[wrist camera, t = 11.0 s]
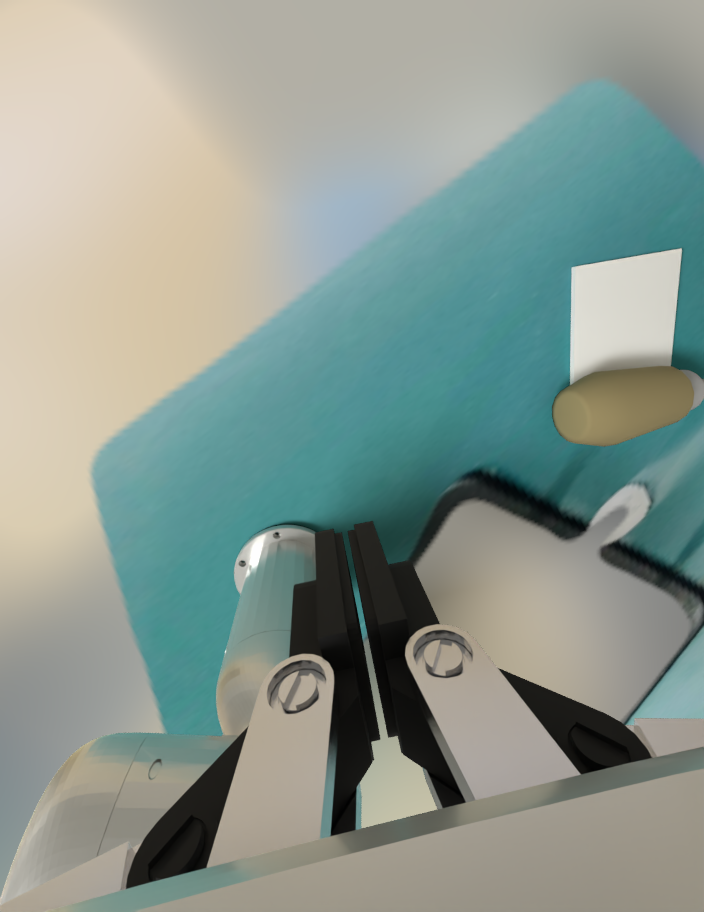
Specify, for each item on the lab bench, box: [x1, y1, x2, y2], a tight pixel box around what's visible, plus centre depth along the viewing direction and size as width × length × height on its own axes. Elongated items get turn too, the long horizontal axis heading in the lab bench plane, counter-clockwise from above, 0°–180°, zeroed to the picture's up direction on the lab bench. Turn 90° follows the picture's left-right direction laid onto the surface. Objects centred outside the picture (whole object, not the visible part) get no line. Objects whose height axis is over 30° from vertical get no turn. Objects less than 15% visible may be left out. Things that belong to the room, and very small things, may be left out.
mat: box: [570, 248, 682, 385], centre depth 43 cm, size 18×12×1 cm, turn 10°
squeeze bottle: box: [552, 366, 704, 446], centre depth 41 cm, size 8×8×18 cm
